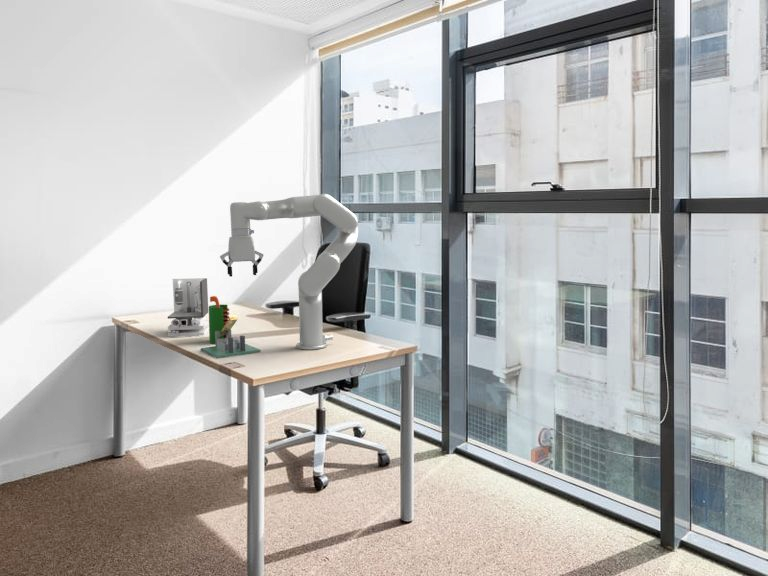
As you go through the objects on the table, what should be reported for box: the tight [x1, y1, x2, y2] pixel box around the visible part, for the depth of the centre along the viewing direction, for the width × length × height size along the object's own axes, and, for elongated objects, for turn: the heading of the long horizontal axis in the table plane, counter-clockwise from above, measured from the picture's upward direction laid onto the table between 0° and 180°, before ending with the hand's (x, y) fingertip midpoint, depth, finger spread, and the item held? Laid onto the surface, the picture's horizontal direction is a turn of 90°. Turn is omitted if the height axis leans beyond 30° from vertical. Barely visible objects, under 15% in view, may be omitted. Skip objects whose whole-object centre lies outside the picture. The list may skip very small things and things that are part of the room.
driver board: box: [200, 334, 262, 359], centre depth 245 cm, size 18×18×7 cm
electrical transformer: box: [167, 277, 209, 337], centre depth 282 cm, size 16×19×25 cm
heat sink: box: [215, 329, 240, 352], centre depth 247 cm, size 8×12×6 cm, turn 36°
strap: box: [220, 314, 238, 336], centre depth 246 cm, size 3×14×2 cm
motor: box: [208, 295, 230, 345], centre depth 264 cm, size 10×9×20 cm
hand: (242, 275), depth 246 cm, fingers open, 9 cm apart
